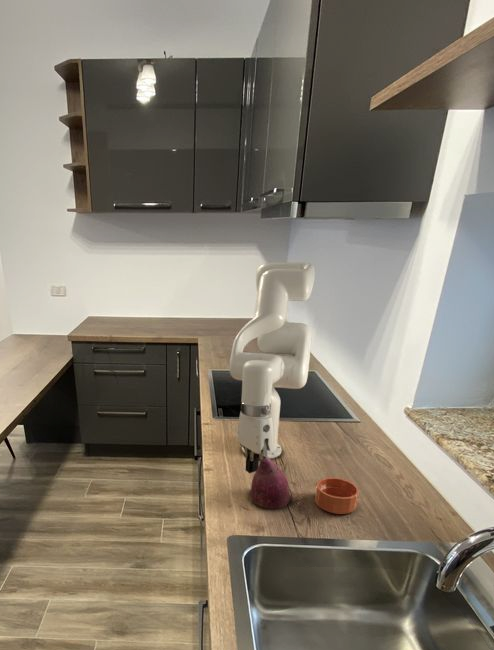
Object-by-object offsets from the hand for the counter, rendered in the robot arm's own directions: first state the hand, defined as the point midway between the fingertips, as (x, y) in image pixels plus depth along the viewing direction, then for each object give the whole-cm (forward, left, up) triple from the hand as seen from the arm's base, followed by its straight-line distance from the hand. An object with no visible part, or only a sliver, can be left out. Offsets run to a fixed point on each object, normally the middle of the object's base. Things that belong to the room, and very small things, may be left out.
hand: (251, 470), depth 122 cm
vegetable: (+8, 0, -5) cm, 9 cm away
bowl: (+18, +13, -5) cm, 23 cm away
